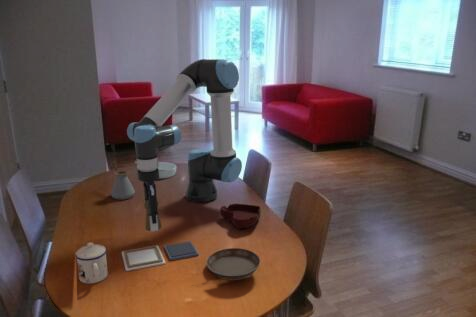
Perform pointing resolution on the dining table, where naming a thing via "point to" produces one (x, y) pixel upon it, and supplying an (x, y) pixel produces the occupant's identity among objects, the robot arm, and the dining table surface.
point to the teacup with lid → (92, 263)
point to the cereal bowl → (169, 169)
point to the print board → (142, 258)
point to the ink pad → (181, 250)
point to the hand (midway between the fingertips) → (152, 226)
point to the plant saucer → (233, 263)
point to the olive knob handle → (149, 216)
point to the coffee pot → (121, 185)
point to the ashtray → (241, 214)
